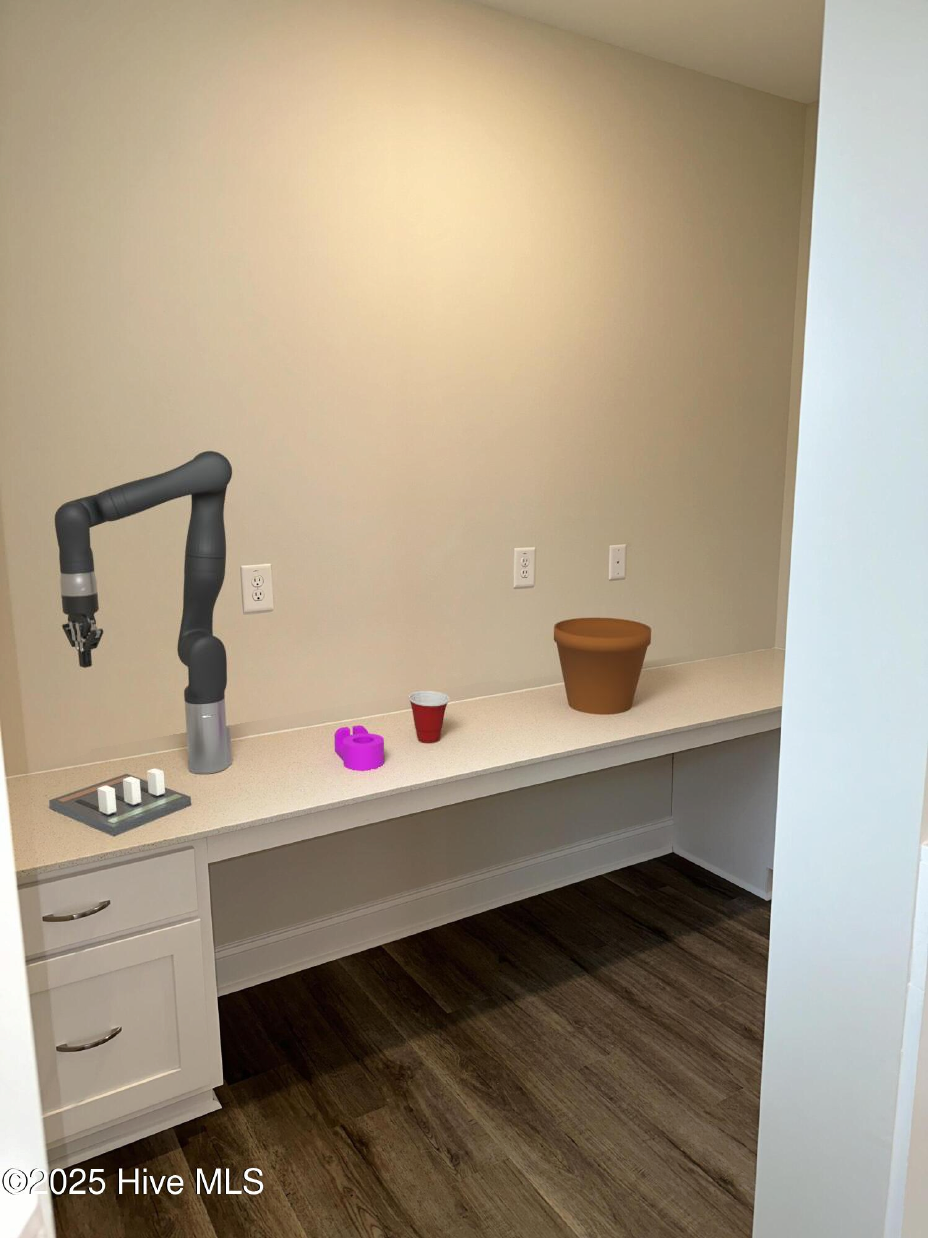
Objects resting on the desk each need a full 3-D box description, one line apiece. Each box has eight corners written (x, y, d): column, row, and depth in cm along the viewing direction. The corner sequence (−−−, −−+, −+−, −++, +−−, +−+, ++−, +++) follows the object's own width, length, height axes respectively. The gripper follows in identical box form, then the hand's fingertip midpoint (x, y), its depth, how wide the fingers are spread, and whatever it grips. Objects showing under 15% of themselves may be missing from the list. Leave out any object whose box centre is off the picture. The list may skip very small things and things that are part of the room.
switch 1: (107, 807, 192) (106, 785, 191) (116, 811, 191) (114, 788, 189) (99, 811, 191) (97, 788, 190) (107, 814, 189) (106, 791, 188)
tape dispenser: (389, 768, 222) (389, 743, 221) (350, 774, 218) (349, 749, 217) (369, 747, 236) (368, 724, 235) (331, 752, 232) (331, 729, 231)
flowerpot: (589, 725, 253) (592, 642, 248) (534, 699, 277) (535, 623, 272) (667, 710, 266) (671, 631, 262) (608, 687, 290) (610, 614, 286)
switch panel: (127, 781, 213) (126, 773, 212) (191, 805, 199) (190, 796, 199) (50, 809, 197) (49, 799, 197) (113, 836, 184) (113, 826, 184)
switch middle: (132, 798, 197) (130, 776, 196) (141, 801, 195) (139, 779, 194) (124, 801, 195) (122, 779, 194) (133, 804, 194) (131, 782, 193)
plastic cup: (432, 750, 234) (432, 704, 231) (400, 741, 240) (399, 697, 238) (458, 738, 242) (458, 695, 240) (426, 730, 249) (426, 687, 246)
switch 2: (156, 789, 202) (154, 768, 201) (164, 792, 200) (163, 771, 199) (148, 792, 200) (147, 771, 199) (157, 795, 198) (155, 774, 197)
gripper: (111, 592, 205) (117, 667, 208) (77, 586, 212) (83, 659, 216) (81, 597, 199) (87, 674, 202) (47, 591, 206) (54, 665, 210)
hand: (85, 666), depth 209 cm, fingers closed
